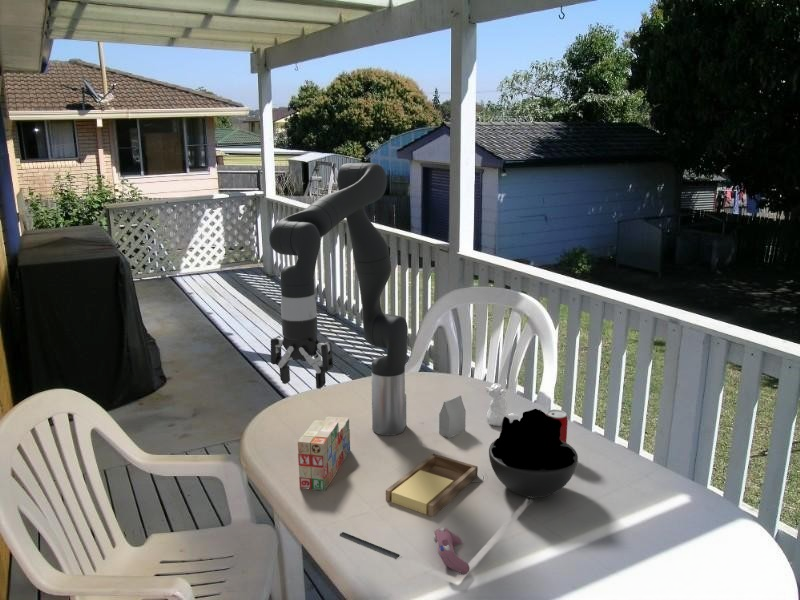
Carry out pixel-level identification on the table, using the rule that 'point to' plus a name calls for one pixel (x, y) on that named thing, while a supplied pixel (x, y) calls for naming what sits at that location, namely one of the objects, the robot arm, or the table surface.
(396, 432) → the robot arm
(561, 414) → the soda can
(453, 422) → the grey gabled house block
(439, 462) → the walnut box
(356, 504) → the table surface
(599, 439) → the table surface
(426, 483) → the cover plate
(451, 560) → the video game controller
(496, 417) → the sitting furry creature
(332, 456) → the stack of blocks
